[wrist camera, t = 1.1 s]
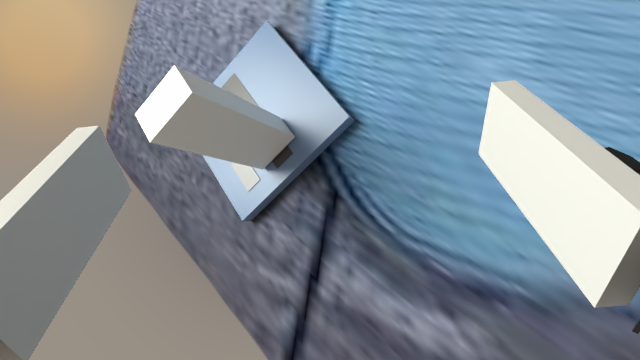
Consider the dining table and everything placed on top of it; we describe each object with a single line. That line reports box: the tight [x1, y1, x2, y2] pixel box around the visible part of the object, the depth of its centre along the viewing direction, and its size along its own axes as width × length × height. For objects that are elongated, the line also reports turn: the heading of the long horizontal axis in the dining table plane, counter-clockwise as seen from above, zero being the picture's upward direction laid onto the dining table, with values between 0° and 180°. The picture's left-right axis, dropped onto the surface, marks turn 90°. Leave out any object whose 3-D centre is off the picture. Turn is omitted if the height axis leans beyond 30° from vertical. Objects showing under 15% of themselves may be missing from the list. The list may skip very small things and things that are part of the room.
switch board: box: [203, 21, 355, 221], centre depth 41 cm, size 16×16×2 cm
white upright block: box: [135, 65, 295, 170], centre depth 33 cm, size 3×5×14 cm, turn 128°
